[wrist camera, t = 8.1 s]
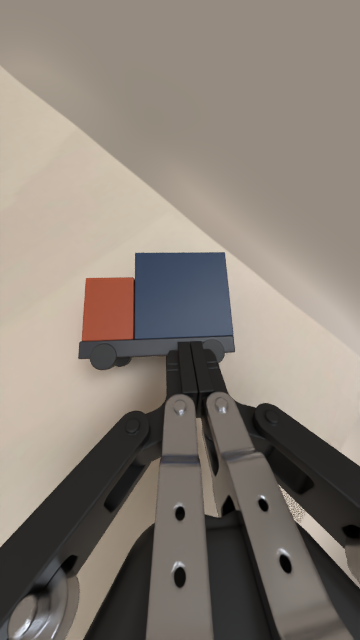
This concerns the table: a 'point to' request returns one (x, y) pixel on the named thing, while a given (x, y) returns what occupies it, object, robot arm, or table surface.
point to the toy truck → (158, 309)
